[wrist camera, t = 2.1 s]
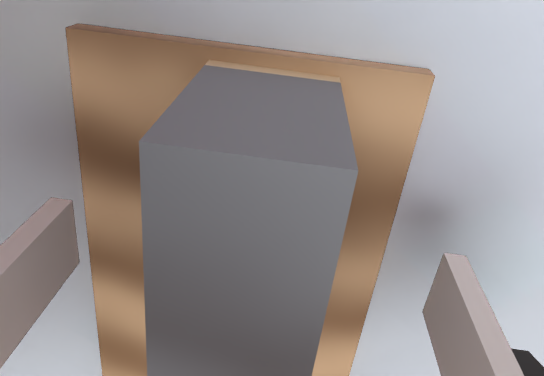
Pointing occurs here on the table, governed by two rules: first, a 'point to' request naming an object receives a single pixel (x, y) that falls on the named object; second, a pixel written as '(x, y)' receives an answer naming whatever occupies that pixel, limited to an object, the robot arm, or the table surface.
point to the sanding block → (243, 221)
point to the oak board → (146, 111)
